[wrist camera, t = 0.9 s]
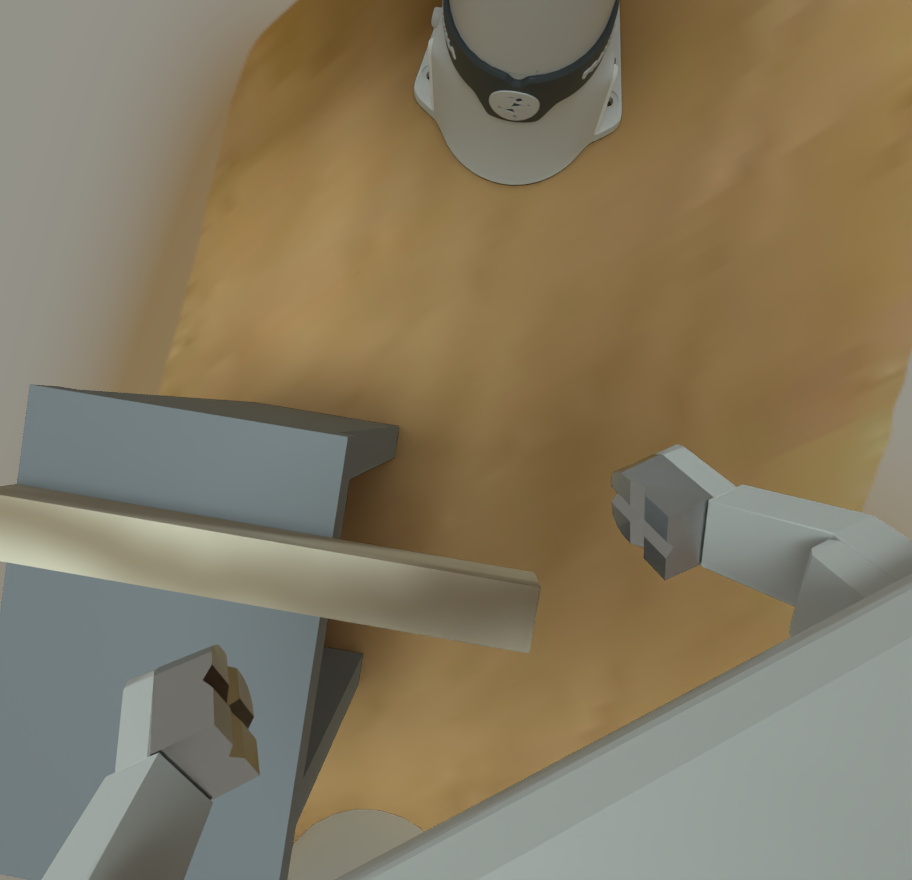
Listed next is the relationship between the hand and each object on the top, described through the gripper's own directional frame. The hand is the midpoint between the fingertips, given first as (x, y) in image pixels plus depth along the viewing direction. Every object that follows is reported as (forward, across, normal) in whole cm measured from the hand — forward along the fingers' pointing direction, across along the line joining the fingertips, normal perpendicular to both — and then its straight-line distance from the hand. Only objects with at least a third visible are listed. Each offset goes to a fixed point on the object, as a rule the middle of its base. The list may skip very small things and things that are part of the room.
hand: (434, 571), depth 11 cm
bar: (+15, +6, +11) cm, 19 cm away
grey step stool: (+35, +7, +29) cm, 46 cm away
